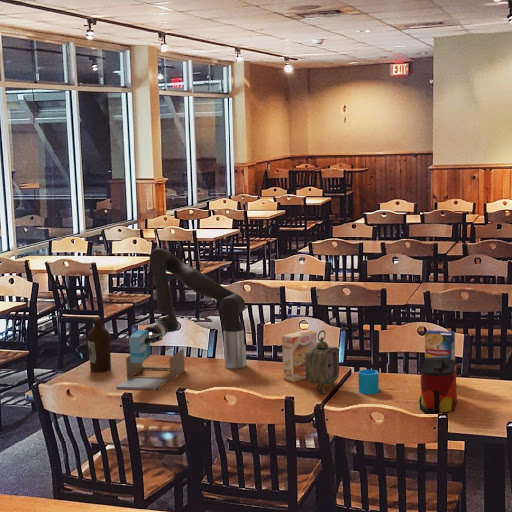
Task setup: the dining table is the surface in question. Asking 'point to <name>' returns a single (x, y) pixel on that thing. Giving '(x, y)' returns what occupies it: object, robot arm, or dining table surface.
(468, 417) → the dining table surface
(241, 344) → the robot arm
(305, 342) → the coffeecake box
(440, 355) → the beverage box
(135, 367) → the bookend rack
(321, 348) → the tabletop clock
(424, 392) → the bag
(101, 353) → the olive oil
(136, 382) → the board
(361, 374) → the mug
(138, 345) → the data package
